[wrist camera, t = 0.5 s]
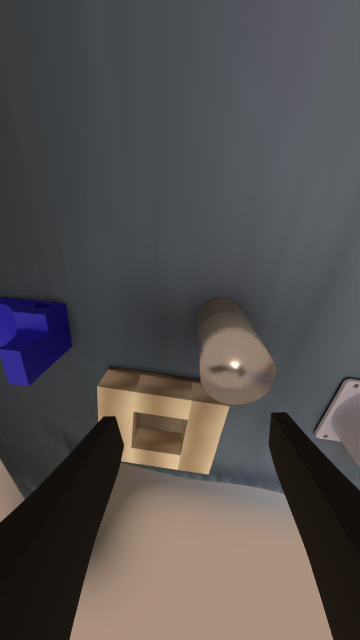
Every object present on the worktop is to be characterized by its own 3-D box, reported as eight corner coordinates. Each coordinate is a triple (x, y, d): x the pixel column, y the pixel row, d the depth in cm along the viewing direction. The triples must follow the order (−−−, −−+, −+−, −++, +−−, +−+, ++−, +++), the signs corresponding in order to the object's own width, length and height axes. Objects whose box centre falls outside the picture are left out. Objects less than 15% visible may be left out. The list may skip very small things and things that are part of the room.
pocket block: (224, 383, 21) (229, 406, 18) (206, 447, 25) (208, 474, 22) (109, 366, 21) (97, 386, 18) (110, 432, 25) (99, 457, 22)
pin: (248, 301, 17) (287, 350, 10) (236, 341, 19) (263, 409, 12) (201, 294, 17) (207, 338, 10) (194, 335, 19) (194, 398, 12)
